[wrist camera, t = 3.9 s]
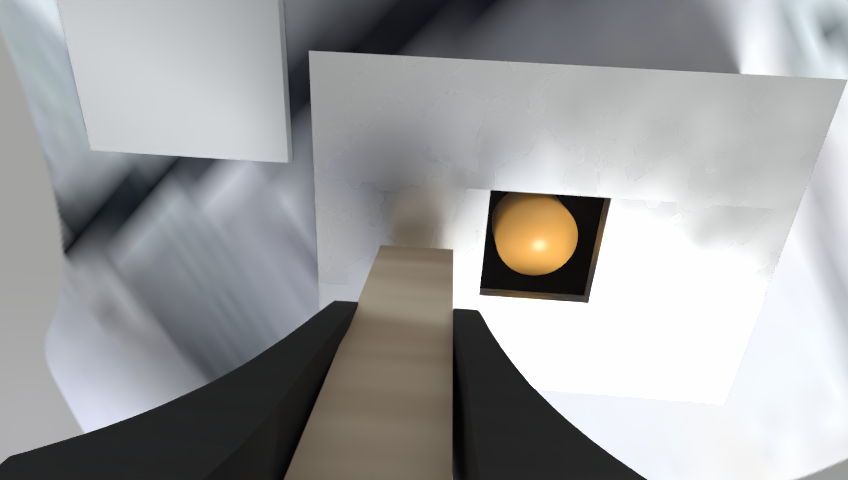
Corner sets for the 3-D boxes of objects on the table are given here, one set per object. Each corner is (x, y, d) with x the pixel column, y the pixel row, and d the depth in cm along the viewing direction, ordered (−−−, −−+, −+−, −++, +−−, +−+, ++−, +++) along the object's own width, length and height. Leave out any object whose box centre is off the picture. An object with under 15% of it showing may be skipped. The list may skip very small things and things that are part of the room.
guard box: (665, 332, 22) (723, 404, 17) (349, 308, 22) (322, 370, 18) (741, 77, 17) (847, 79, 13) (346, 55, 18) (308, 50, 13)
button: (558, 257, 18) (570, 278, 17) (488, 252, 19) (491, 272, 17) (570, 188, 17) (584, 203, 16) (495, 183, 18) (500, 197, 16)
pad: (293, 160, 20) (288, 162, 19) (101, 148, 20) (91, 150, 20) (279, -77, 16) (272, -82, 16) (49, -87, 17) (35, -92, 16)
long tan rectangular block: (448, 312, 15) (442, 614, 7) (380, 308, 15) (291, 599, 7) (453, 249, 14) (451, 507, 6) (380, 245, 14) (278, 492, 6)
